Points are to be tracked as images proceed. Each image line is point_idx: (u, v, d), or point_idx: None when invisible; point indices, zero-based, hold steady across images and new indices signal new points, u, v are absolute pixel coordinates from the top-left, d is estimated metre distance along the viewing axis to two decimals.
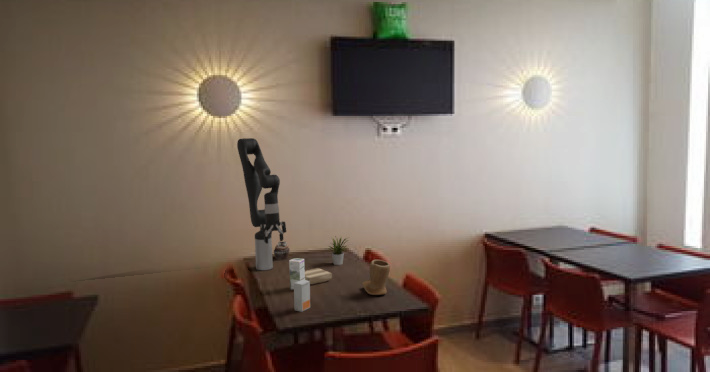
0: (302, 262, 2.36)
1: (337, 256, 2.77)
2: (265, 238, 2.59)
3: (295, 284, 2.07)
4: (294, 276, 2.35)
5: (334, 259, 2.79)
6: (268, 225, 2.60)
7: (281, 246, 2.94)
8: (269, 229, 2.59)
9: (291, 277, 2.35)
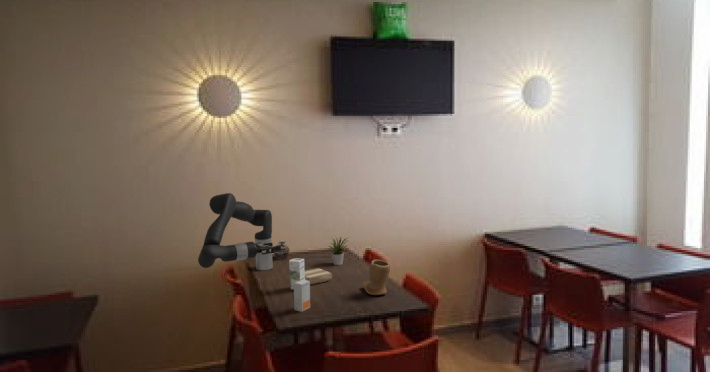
0: (302, 262, 2.36)
1: (337, 256, 2.77)
2: None
3: (295, 284, 2.07)
4: (294, 276, 2.35)
5: (334, 259, 2.79)
6: None
7: (281, 246, 2.94)
8: None
9: (291, 277, 2.35)
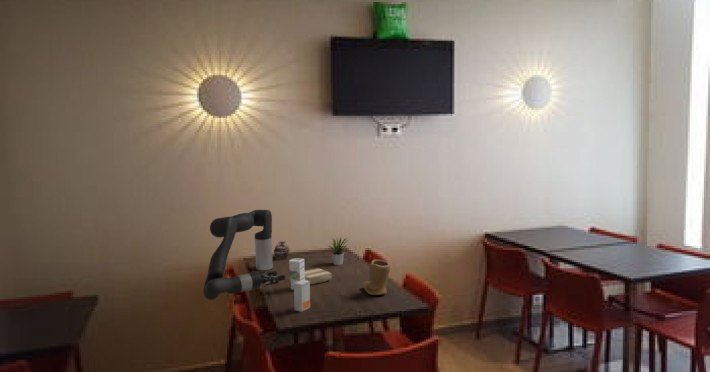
0: (302, 262, 2.36)
1: (337, 256, 2.77)
2: (270, 275, 2.35)
3: (295, 284, 2.07)
4: (294, 276, 2.35)
5: (334, 259, 2.79)
6: None
7: (281, 246, 2.94)
8: None
9: (291, 277, 2.35)
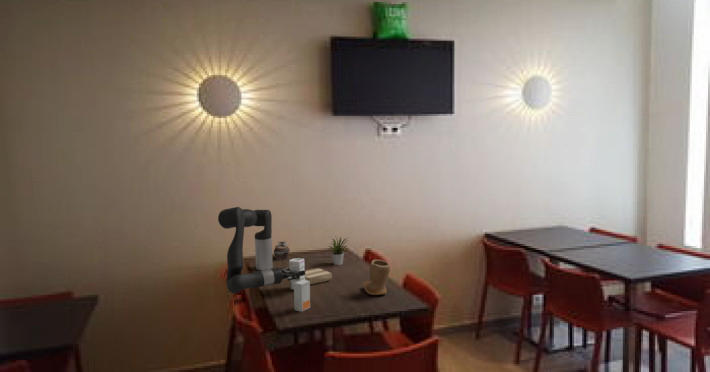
0: (302, 262, 2.36)
1: (337, 256, 2.77)
2: None
3: (295, 284, 2.07)
4: None
5: (334, 259, 2.79)
6: None
7: (281, 246, 2.94)
8: None
9: None
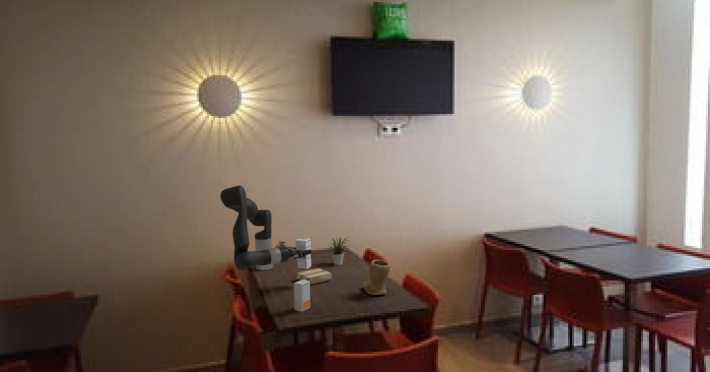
0: (308, 241, 2.40)
1: (337, 256, 2.77)
2: None
3: (295, 284, 2.07)
4: None
5: (334, 259, 2.79)
6: None
7: (281, 246, 2.94)
8: None
9: None
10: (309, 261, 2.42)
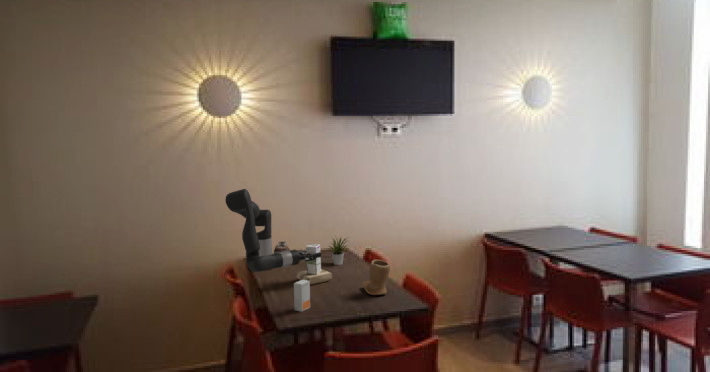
0: (318, 248, 2.48)
1: (337, 256, 2.77)
2: None
3: (295, 284, 2.07)
4: (311, 261, 2.46)
5: (334, 259, 2.79)
6: None
7: (281, 246, 2.94)
8: None
9: (308, 262, 2.47)
10: (319, 267, 2.49)
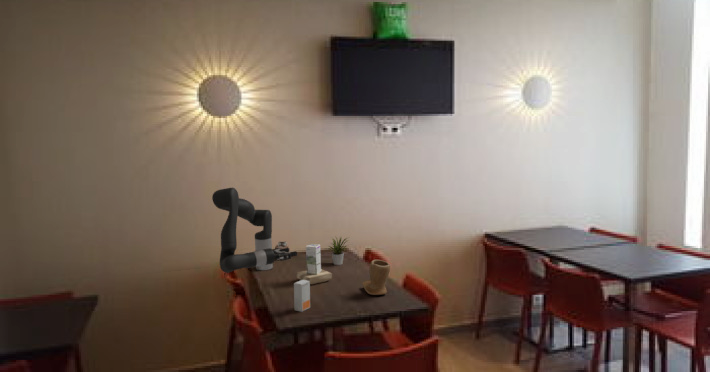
0: (318, 248, 2.48)
1: (337, 256, 2.77)
2: (282, 251, 2.46)
3: (295, 284, 2.07)
4: (311, 261, 2.46)
5: (334, 259, 2.79)
6: None
7: (281, 246, 2.94)
8: None
9: (308, 262, 2.47)
10: (319, 267, 2.49)
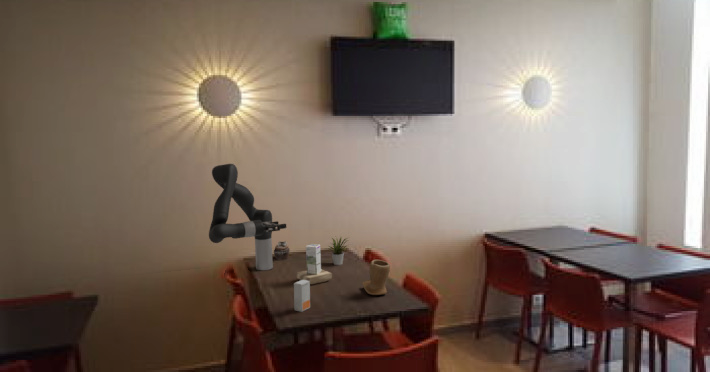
0: (318, 248, 2.48)
1: (337, 256, 2.77)
2: (272, 225, 2.46)
3: (295, 284, 2.07)
4: (311, 261, 2.46)
5: (334, 259, 2.79)
6: None
7: (281, 246, 2.94)
8: None
9: (308, 262, 2.47)
10: (319, 267, 2.49)
